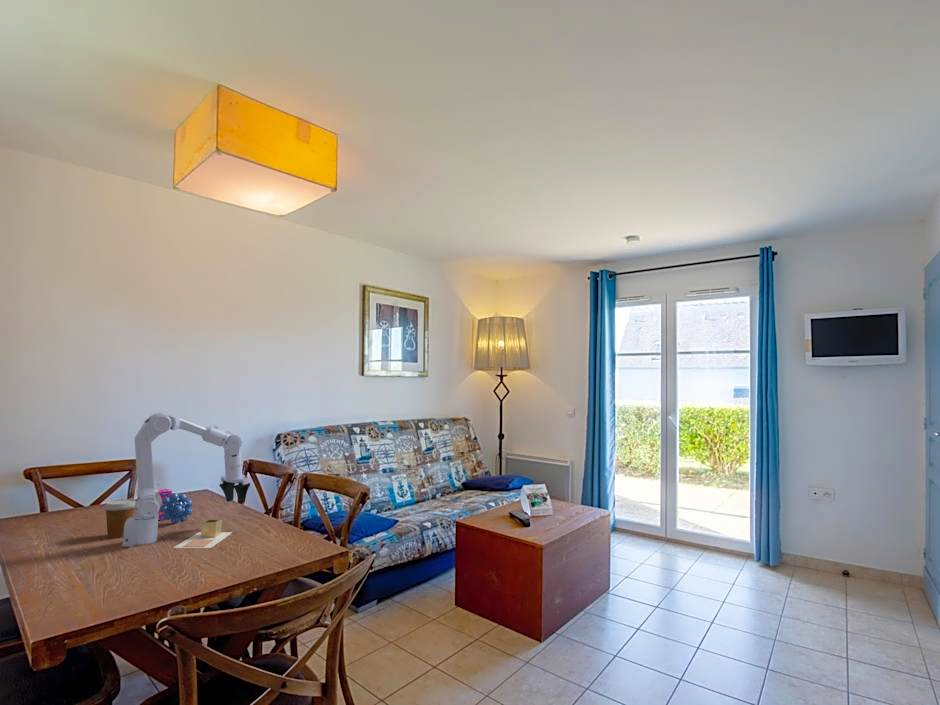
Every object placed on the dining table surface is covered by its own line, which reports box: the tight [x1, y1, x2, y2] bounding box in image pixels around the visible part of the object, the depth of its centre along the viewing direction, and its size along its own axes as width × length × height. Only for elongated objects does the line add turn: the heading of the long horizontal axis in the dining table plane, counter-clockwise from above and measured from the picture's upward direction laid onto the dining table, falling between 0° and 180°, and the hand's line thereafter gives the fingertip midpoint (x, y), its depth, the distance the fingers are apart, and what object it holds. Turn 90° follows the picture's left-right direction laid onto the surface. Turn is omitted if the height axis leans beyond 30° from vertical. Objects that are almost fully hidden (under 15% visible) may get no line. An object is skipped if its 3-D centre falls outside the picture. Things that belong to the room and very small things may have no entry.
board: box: [173, 531, 233, 549], centre depth 176 cm, size 12×18×4 cm, turn 4°
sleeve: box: [200, 518, 223, 537], centre depth 181 cm, size 5×5×5 cm
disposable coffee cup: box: [104, 498, 136, 539], centre depth 181 cm, size 10×10×12 cm
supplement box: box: [154, 488, 173, 521], centre depth 204 cm, size 6×6×12 cm
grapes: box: [160, 492, 194, 524], centre depth 197 cm, size 12×7×12 cm, turn 132°
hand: (235, 501), depth 191 cm, fingers open, 7 cm apart
